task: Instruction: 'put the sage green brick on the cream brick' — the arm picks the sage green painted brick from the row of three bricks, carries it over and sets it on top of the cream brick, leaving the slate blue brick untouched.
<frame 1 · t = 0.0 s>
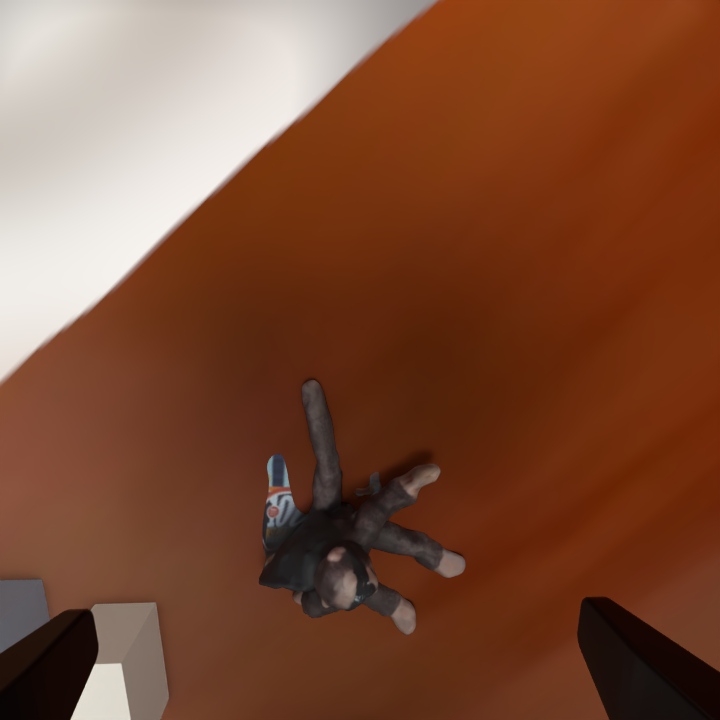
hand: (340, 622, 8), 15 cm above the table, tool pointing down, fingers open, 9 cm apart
stuffed animal: (348, 507, 24), on the table
cream brick: (134, 650, 26), on the table
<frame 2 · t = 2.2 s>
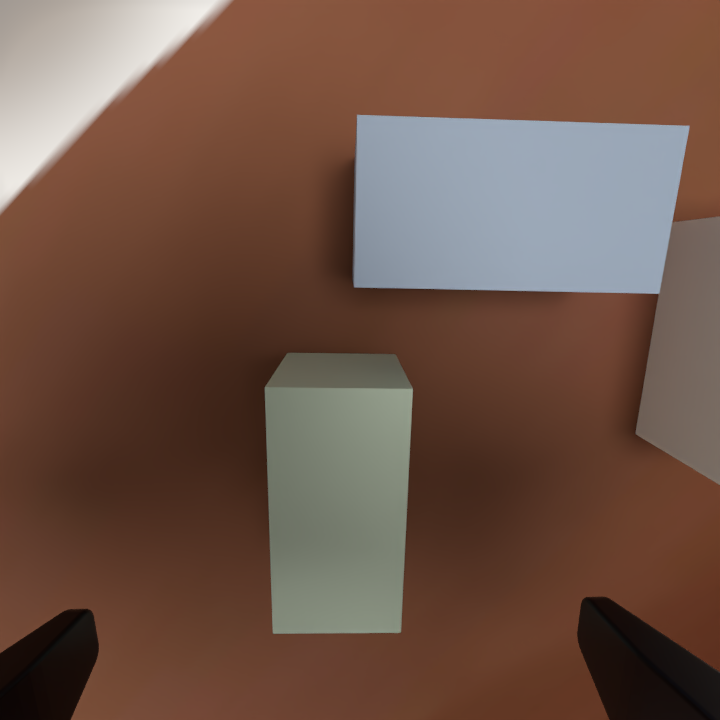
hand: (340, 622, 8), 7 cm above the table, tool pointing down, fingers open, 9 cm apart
slate brick: (466, 224, 13), on the table
sage brick: (340, 451, 15), on the table
cream brick: (700, 333, 14), on the table
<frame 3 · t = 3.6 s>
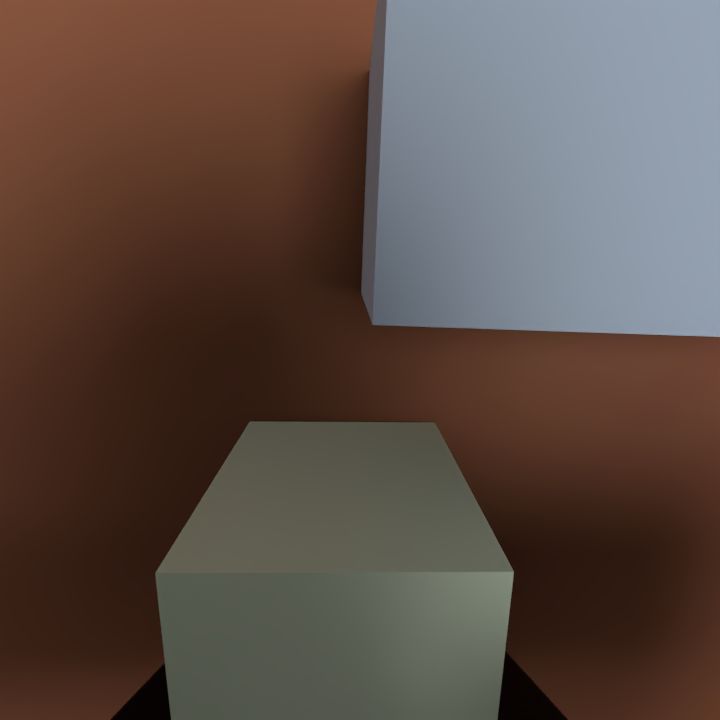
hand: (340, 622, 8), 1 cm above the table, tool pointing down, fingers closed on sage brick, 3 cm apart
slate brick: (566, 198, 7), on the table
sage brick: (341, 580, 9), on the table, touching gripper
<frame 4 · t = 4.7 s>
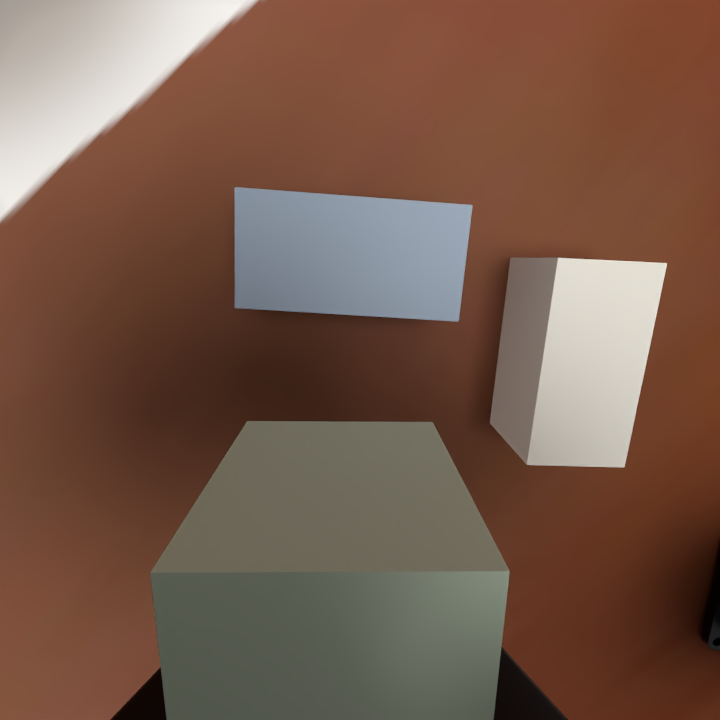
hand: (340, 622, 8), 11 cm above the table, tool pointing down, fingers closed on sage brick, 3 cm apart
slate brick: (349, 257, 17), on the table
sage brick: (339, 580, 9), point 10 cm above the table, touching gripper
cream brick: (539, 345, 18), on the table
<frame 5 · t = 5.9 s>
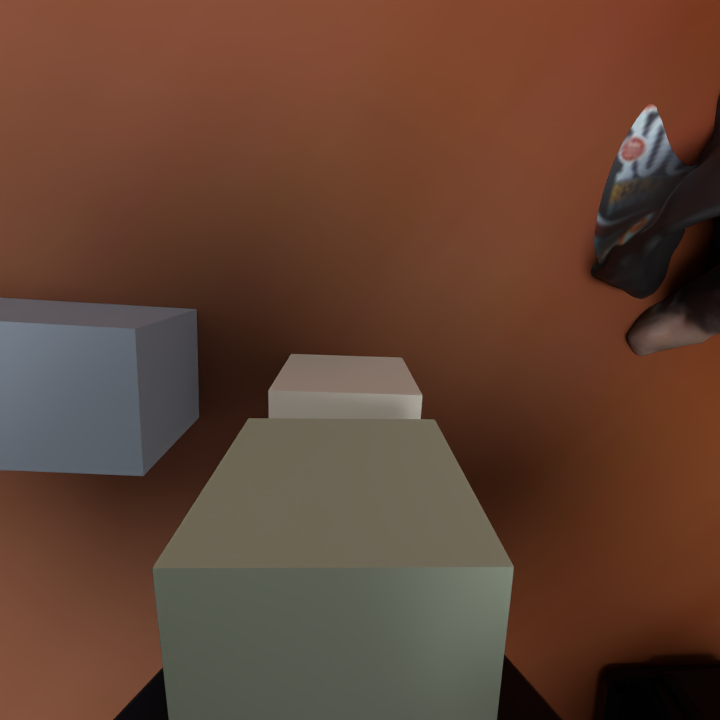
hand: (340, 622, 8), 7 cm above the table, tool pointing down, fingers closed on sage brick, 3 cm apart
slate brick: (86, 357, 13), on the table
sage brick: (341, 578, 9), point 6 cm above the table, touching gripper
cream brick: (343, 456, 14), on the table
when the fingers open (6 cm above the table, at t = 6.1 s): sage brick drops 2 cm, resting on cream brick.
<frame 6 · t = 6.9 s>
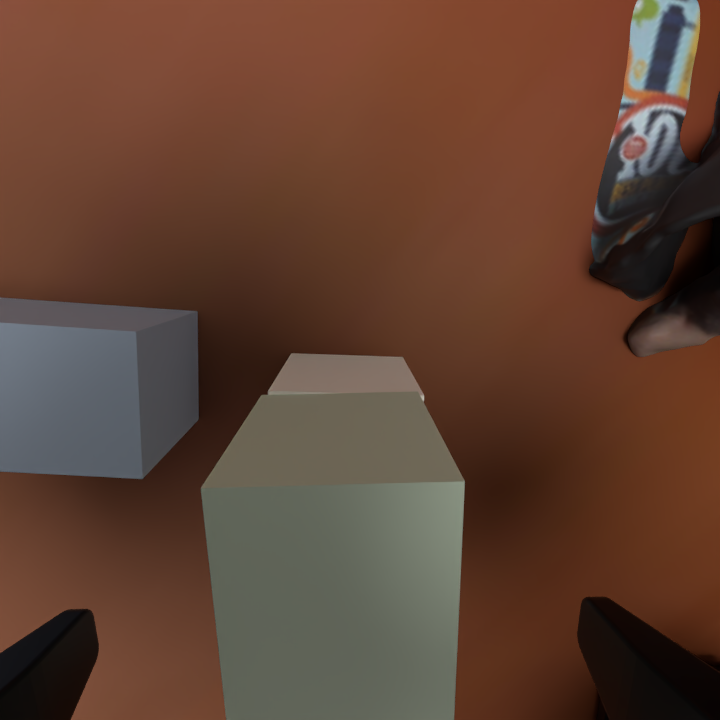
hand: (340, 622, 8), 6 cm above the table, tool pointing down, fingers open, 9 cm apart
slate brick: (86, 358, 13), on the table
sage brick: (343, 530, 10), point 4 cm above the table, touching cream brick
cream brick: (343, 456, 14), on the table, touching sage brick
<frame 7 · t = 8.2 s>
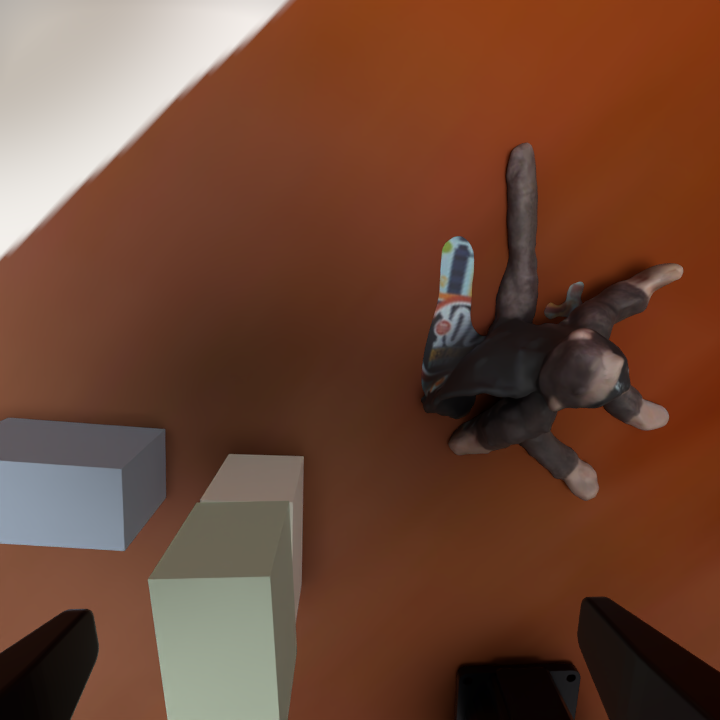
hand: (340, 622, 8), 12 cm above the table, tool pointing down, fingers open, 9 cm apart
stuffed animal: (526, 338, 20), on the table
slate brick: (91, 457, 20), on the table
sage brick: (249, 580, 17), point 4 cm above the table, touching cream brick
cream brick: (267, 520, 21), on the table, touching sage brick
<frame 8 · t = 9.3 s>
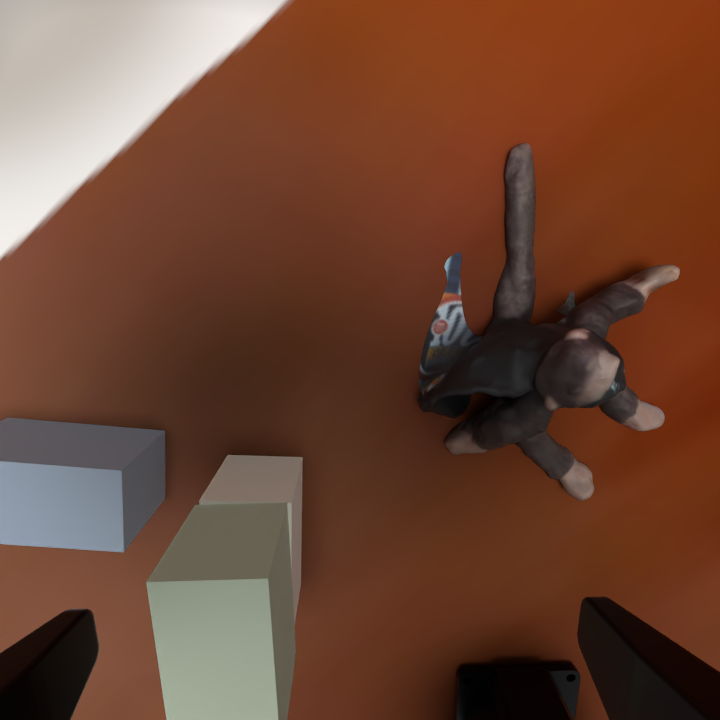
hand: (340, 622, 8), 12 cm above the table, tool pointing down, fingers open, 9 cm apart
stuffed animal: (523, 338, 20), on the table
slate brick: (90, 457, 20), on the table
sage brick: (247, 582, 17), point 4 cm above the table, touching cream brick
cream brick: (266, 521, 21), on the table, touching sage brick
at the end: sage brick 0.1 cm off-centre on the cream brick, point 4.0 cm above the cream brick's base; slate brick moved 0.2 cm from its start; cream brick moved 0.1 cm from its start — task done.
